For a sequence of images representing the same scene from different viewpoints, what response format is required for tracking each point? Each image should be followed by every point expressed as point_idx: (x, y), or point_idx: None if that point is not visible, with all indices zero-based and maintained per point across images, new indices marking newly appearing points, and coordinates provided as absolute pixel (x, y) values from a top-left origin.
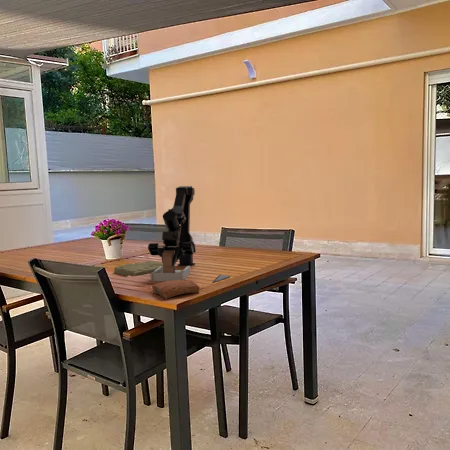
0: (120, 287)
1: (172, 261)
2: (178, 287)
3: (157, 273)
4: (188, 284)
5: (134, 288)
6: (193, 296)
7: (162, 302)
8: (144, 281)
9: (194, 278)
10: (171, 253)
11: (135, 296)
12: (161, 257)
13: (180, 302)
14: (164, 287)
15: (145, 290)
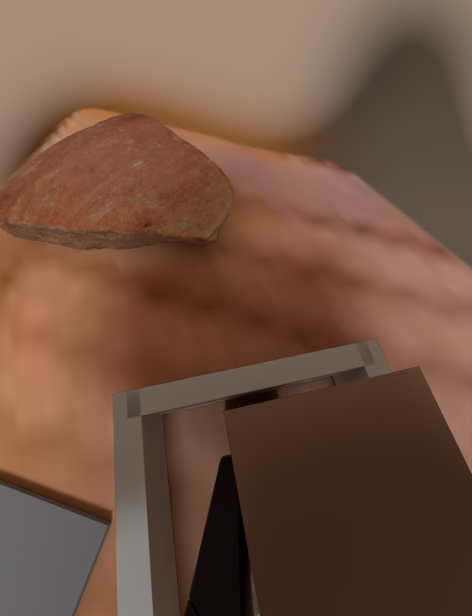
0: (429, 250)
1: (237, 493)
2: (70, 135)
3: (324, 351)
4: (24, 169)
5: (350, 245)
6: None
7: None
8: None
9: (84, 595)
10: (240, 504)
11: (263, 154)
12: None
13: (68, 121)
14: (133, 119)
15: (277, 224)
